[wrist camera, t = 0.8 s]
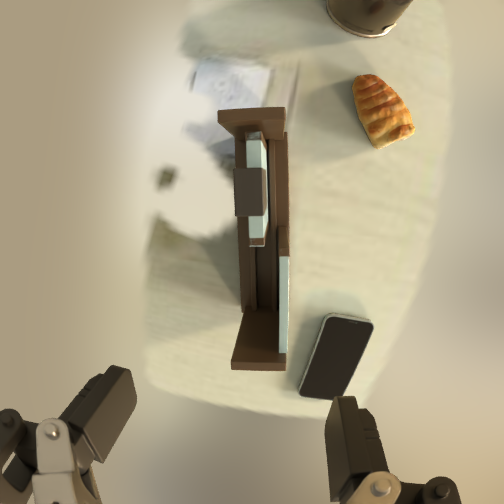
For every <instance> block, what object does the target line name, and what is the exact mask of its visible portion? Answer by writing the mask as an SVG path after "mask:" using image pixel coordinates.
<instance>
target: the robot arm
mask: <svg viewBox="0 0 504 504" xmlns="http://www.w3.org/2000/svg"><path fill="white" fill-rule="evenodd" d="M412 1H413V0H327V10H328V13H329V15H330V16H331V18H332V19H333V20H334V22H335V23H336V24H338V25H339V26H340V27H341V28H343V29H344V30H346V31H348V32H350V33H352V34H354V35H357V36H361V37H366V38H377V37H381V36H384V35H385V34H387V33H388V32H389V31H390V30H391V28H393V27H395V25H396V24H397V23H396V24H394V23H395V22H396V21H397V20H398V18H399V17H400V16H401V15H402V13H403V12H404V11H405V10H406V8H407V7H408V6H409V5H410V3H411V2H412ZM393 24H394V25H393ZM136 403H137V395H136V391H135V387H134V383H133V378H132V374H131V371H130V370H129V369H126V368H122V367H118V366H115V365H111V366H110V367H109V368H108V369H107V371H106V372H105V373H104V374H98V375H97V376H95V377H93V378H91V379H90V380H89V381H88V382H87V384H86V385H85V386H84V388H83V389H82V390H81V391H80V392H79V394H78V395H77V396H76V397H75V398H74V399H73V401H72V402H71V403H70V404H69V406H68V407H67V408H66V409H65V411H64V412H63V413H62V414H61V416H60V417H59V418H58V419H56V418H49V419H45V420H43V421H42V422H41V423H40V424H39V423H33V422H29V421H25V420H23V419H22V417H21V416H20V414H19V413H18V412H17V411H16V410H14V409H4V410H2V411H0V504H26V503H27V501H28V500H29V498H30V496H31V494H32V492H33V493H34V500H35V504H102V502H101V498H100V495H99V492H98V489H97V485H96V481H95V478H94V474H93V471H92V467H91V463H92V462H93V460H96V461H98V462H100V463H104V461H105V459H106V458H107V456H108V454H109V452H110V450H111V449H112V447H113V445H114V443H115V442H116V440H117V438H118V437H119V435H120V433H121V431H122V430H123V428H124V426H125V424H126V422H127V421H128V419H129V417H130V415H131V414H132V412H133V411H134V409H135V406H136ZM379 437H380V436H379V433H378V430H377V426H376V422H375V419H374V417H373V416H372V414H371V413H370V412H369V411H368V410H367V409H366V408H365V409H358V405H357V401H356V398H355V396H335V397H334V399H333V402H332V405H331V408H330V411H329V414H328V417H327V420H326V424H325V443H326V453H327V464H328V475H329V488H330V501H331V502H340V504H461V500H460V496H459V493H458V490H457V487H456V484H455V483H454V482H453V481H452V480H451V479H449V478H447V477H435V478H433V479H431V480H429V481H428V482H427V483H426V484H414V483H404V482H401V481H399V479H398V478H397V477H396V476H395V475H393V474H391V473H390V472H389V469H388V466H387V462H386V459H385V454H384V451H383V447H382V443H381V440H380V439H379ZM12 452H14V453H15V454H16V455H15V456H14V458H13V459H12V461H11V463H10V464H9V466H8V467H7V469H6V470H5V472H4V473H3V474H2V468H3V466H4V464H5V463H6V461H7V460H8V458H9V457H10V455H11V454H12Z"/></svg>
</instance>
